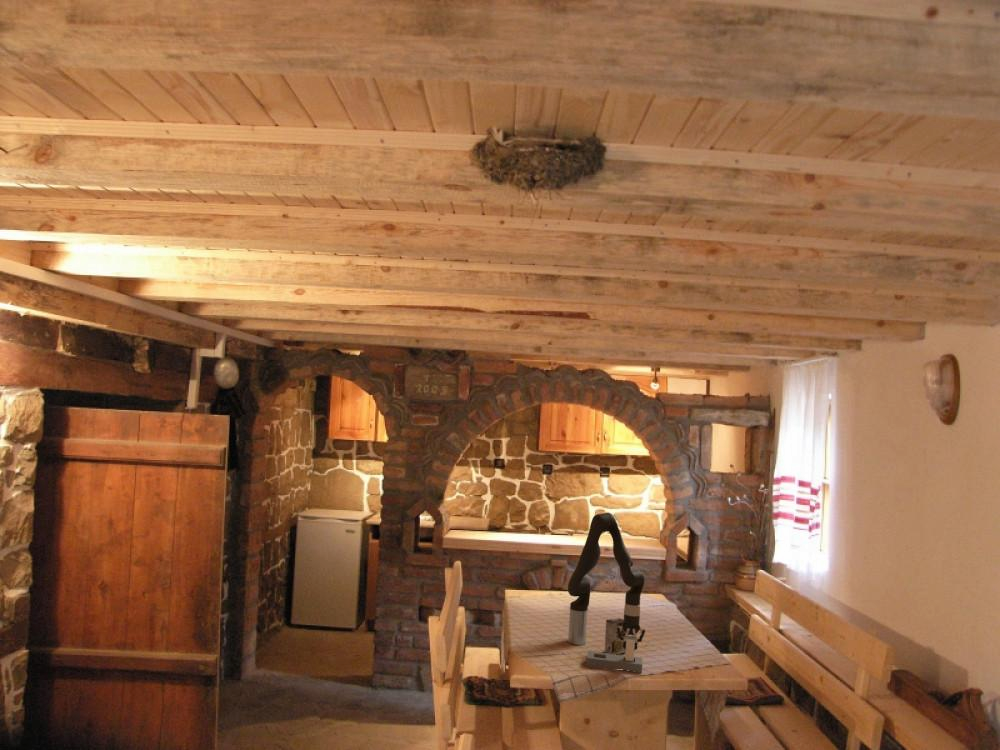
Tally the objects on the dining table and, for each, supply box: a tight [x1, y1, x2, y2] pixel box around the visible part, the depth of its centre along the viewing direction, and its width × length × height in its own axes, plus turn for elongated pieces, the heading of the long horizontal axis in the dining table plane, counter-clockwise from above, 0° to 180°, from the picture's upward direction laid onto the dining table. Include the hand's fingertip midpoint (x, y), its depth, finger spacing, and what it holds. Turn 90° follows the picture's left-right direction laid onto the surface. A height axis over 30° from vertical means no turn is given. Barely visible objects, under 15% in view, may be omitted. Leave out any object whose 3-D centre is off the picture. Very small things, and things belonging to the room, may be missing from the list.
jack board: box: [585, 650, 643, 674], centre depth 364 cm, size 10×26×4 cm, turn 80°
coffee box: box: [604, 617, 626, 655], centre depth 385 cm, size 9×6×16 cm
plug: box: [624, 635, 635, 661], centre depth 363 cm, size 4×4×11 cm
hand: (629, 649), depth 363 cm, fingers closed on plug, 4 cm apart
